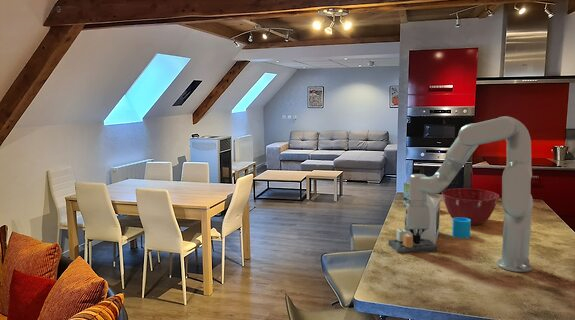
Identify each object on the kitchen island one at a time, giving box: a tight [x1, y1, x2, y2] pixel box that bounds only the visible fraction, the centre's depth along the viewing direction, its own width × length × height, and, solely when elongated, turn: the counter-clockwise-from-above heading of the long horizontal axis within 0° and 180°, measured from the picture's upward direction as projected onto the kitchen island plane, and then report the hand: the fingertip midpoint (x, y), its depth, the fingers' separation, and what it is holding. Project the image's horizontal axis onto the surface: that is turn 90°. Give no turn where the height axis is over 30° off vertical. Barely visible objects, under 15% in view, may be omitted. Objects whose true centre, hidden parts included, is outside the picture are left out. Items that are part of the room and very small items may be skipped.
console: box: [388, 238, 439, 254], centre depth 207 cm, size 12×18×2 cm, turn 96°
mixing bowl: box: [441, 187, 500, 226], centre depth 248 cm, size 28×28×15 cm
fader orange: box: [403, 234, 413, 247], centre depth 202 cm, size 4×3×5 cm
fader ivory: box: [395, 228, 406, 242], centre depth 210 cm, size 4×3×5 cm
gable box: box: [405, 193, 441, 245], centre depth 221 cm, size 22×13×28 cm, turn 157°
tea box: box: [403, 181, 409, 207], centre depth 280 cm, size 15×10×15 cm, turn 25°
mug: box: [451, 217, 472, 239], centre depth 225 cm, size 12×8×8 cm
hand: (416, 243), depth 203 cm, fingers closed
